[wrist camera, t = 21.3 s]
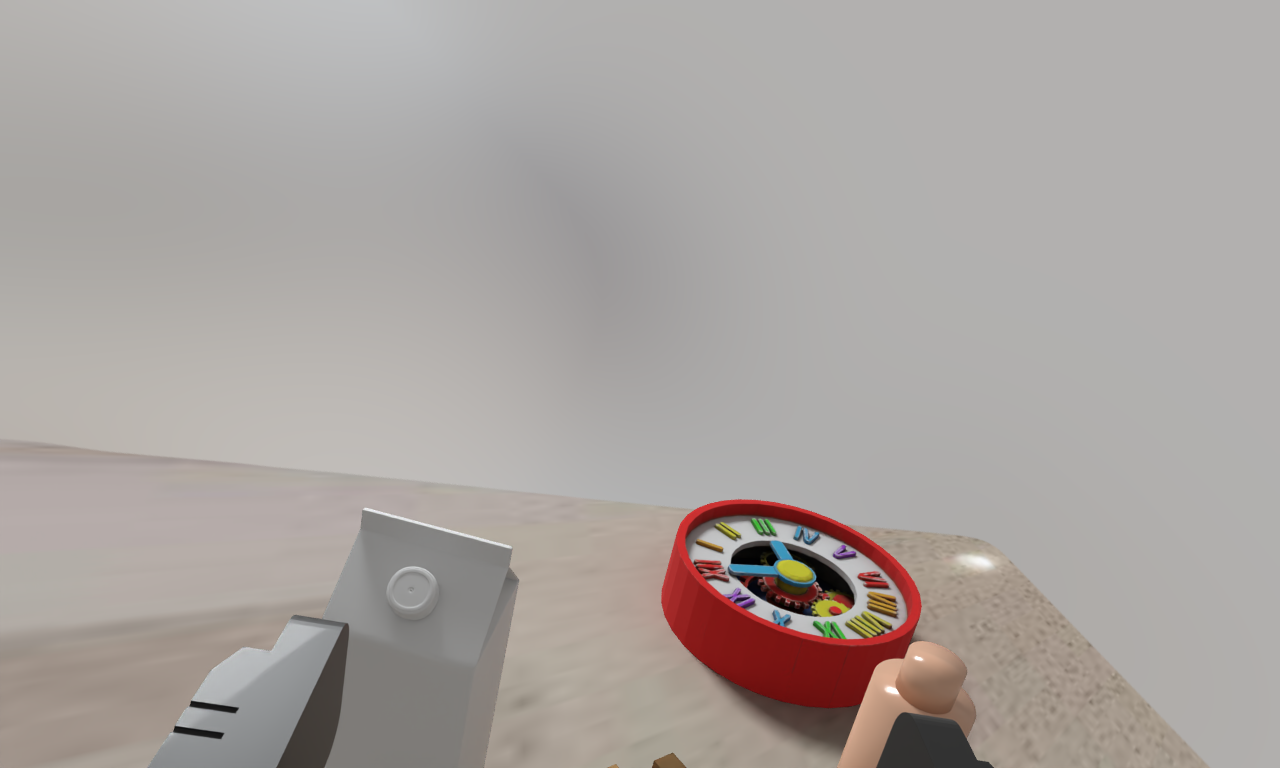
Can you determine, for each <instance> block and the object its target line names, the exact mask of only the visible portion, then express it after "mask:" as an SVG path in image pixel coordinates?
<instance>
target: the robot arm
mask: <svg viewBox="0 0 1280 768" xmlns="http://www.w3.org/2000/svg"><path fill="white" fill-rule="evenodd" d="M348 640H349V625H348V623H343V622H337V621H331V620H324V619H318V618H311V617H305V616H299V615H294V616H292V617H291V619H290V620H289V622H288V623H287V625H286V627H285V629H284V630H283V632H282V634H281V636H280V637H279V639H278V641H277V642H276V644H275V646H274V648H273V649H272V651H268V650H261V649H255V648H248V647H243V648H241V649H240V650H238V651H237V652H236V653H234V654H233V655H232V656H230V657H229V658H227V659H226V660H225V661H223V662H222V663H220V664H219V665H218V666H216V667H215V668H213V669H212V670H211V671H210V672H209V674H208V676H207V677H206V679H205V680H204V682H203V683H202V685H201V686H200V688H199V689H198V691H197V692H196V694H195V695H194V697H193V699H192V700H191V704H190V706H189V707H187V708H186V709H185V711H184V712H183V714H182V715H181V717H180V718H179V720H178V722H177V723H176V725H175V728H174V731H173V733H172V732H170V734H169V735H168V737H167V738H166V740H165V741H164V743H163V745H162V746H161V748H160V749H159V751H158V752H157V754H156V755H155V757H154V758H153V760H152V761H151V763H150V765H149V766H148V768H324V767H325V765H326V763H327V760H328V757H329V755H330V752H331V749H332V746H333V743H334V739H335V735H336V731H337V727H338V723H339V718H340V712H341V704H342V695H343V686H344V677H345V668H346V658H347V649H348ZM876 768H994V767H993V766H992V765H991V764H990V763H989V762H985V761H978V760H977V759H976V757H975V755H974V753H973V751H972V749H971V747H970V745H969V743H968V741H967V739H966V737H965V735H964V733H963V731H962V729H961V727H960V726H959V724H958V723H957V722H956V721H954V720H952V719H946V718H940V717H933V716H927V715H920V714H914V713H908V712H903V713H901V714H900V715H899V716H898V717H897V718H896V720H895V722H894V724H893V726H892V729H891V731H890V734H889V736H888V739H887V741H886V744H885V747H884V749H883V752H882V754H881V757H880V759H879V762H878V764H877V767H876Z"/></svg>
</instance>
